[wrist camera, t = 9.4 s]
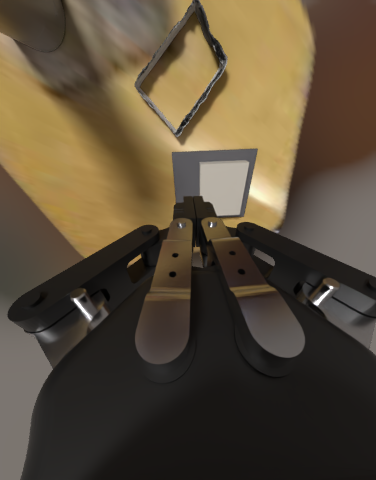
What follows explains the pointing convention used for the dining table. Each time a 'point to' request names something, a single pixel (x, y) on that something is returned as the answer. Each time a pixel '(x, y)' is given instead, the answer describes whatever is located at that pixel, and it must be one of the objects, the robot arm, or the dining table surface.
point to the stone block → (223, 185)
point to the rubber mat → (189, 171)
